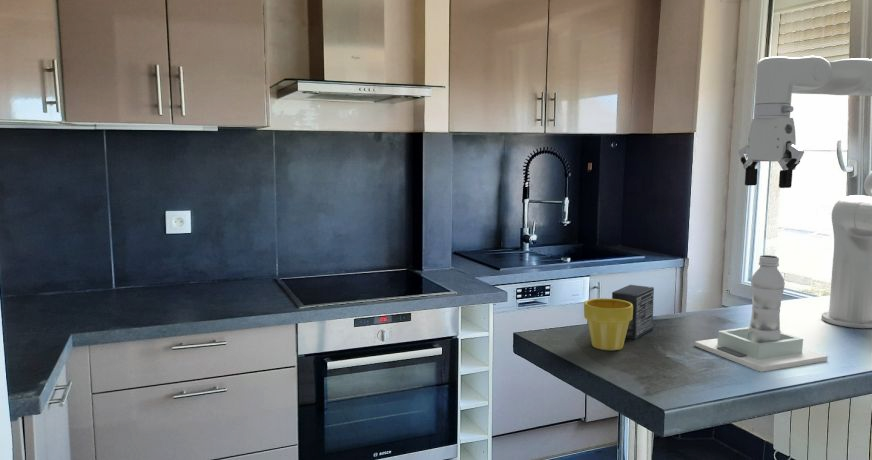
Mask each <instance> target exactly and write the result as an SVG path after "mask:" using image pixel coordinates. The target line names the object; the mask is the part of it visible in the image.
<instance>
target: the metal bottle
mask: <svg viewBox="0 0 872 460" xmlns="http://www.w3.org/2000/svg"><path fill="white" fill-rule="evenodd" d="M779 261H780V257H779V256H776V255H770V254H768V255H767V254H765V255H763V254H761V255H760V256H759V262H758V266H759V268H758V269H757V270H756V271H755V272H754V273H753V275H752V277H751V279H750V285H751V299H752V301H751V302H752V303H751V305H752V308H751V316H750V323H749V326H748V327H749V330H748V335H747V338H748V340H751V341H754V342H756V343H765V342H772V341H779V340H781V332H782V331H781V326H780V325H781V323H780V322H781V321H780V317H781V316H780V311H781V309H780V308H781V305H782V304H781V303H782V298H783V296H784V295H783V293H784V290H785V289H784V288H785V285H786V283H785V279H784V276H783V275H782V273H781V272H780V270H779V269H778V267H779V266H780V262H779Z"/></svg>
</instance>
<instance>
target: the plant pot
mask: <svg viewBox="0 0 872 460" xmlns="http://www.w3.org/2000/svg"><path fill="white" fill-rule="evenodd" d="M583 316H584V318H585V319H586V320H587V325H588V326H587V327H588V331H589V336H590V341H591V346H592V347H593V348H595V349H597V350H602V351H619V350H622V349H623V347H624V344H625V340H626V332H627V329H628V325H629V321H631V320H632V317H633V305H632V303H630V302H628V301H624V300H618V299H612V298H603V297H602V298H599V297H598V298H591V299H588V300H585V301H584V303H583Z"/></svg>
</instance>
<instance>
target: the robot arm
mask: <svg viewBox="0 0 872 460" xmlns="http://www.w3.org/2000/svg"><path fill="white" fill-rule="evenodd" d="M792 94H797V95H799V94H800V95H801V94H802V95H830V96H858V97H859V96H862V97H863V96H864V97H865V96H866V97H867V96H868V97H872V58H870V59H869V58H861V57H860V58H857V57H856V58H845V59H837V60H832V61H830V60H829V61H828V60H827V59H826V58H824V57H821V56H818V55H817V56H815V55H808V56H803V57H788V56H769V57H764V58H761V59H760V60H758V62H757V63H756V75H755V90H754V106H753V109H754V110H753V118H752V119H751V121H750V126H749V131H748V136H747V143H746V145H745V146H743V147H741V148H740V149H739V150H738V155H739V157H740V163H742V165H743V169H745V175H744V176H745V177H744V185H745V186H757V184H758V173H759V171H758V168H756V167H757V166H758V165H759V163H760V162H771V163H772V162H773V163H774V162H777V163H778V165H779V166H780V168H781V169H780V170H779V178H778V179H779V180H778V188H780V189H791V188H792V182H793V171H795V170H796V168H797V166H798V165H799V164H800V163H801V160H802V158H803V155H804V154H805V151H804V150H803V149H802V148H800V147H799V146H797V144H796V143H797V142H796V141H797V140H796V128H795V121H794V118H793V117H791V113H792V112H793V111H794V106H792V97H793V96H792ZM863 189H864V192H865V193H866V194H867V195H862V194H861V195H860V194H854V195H853V194H852V195H846V196H844V197H842V198H840V199H839V200H838V201H836V202H835V204H834V205H833V208H832V210H831V223H832V224H831V225H832V230H833V256H832V257H833V258H832V267H831V281H830V282H831V283H830V293H829V304H828V305H829V307H828V311H825V312H822V313H821V320H822V321H824V322H826V323H828V324H832V325H834V326H835V325H836V326H839V327H846V328H853V329H872V170H871V171H870V172H869V173H868V175H867V176H866V178H865V180H864V183H863Z"/></svg>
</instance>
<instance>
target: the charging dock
mask: <svg viewBox="0 0 872 460" xmlns="http://www.w3.org/2000/svg"><path fill="white" fill-rule="evenodd" d="M749 327H750V326H747V327H746V326H745V327H738V328H731V329H730V328H729V329H723V330H718V331H717V338H711V339H703V340H695V341H694V347H695V348H696V347H697V348H699V349H701V350H703V351H704V350H705V351H707V352H710V353H711V354H714V355H717V356H719V357H722V358H724V359H727V360H730V361H732V362H735V363H738V364H740V365H742V366H745V367H747V368H749V369H753V370H755V371H757V372H761V373H762V372H768V371H774V370H781V369H787V368H792V367H797V366H798V367H799V366H803V365H804V366H805V365H810V364H811V365H812V364H816V363H817V364H818V363H823V362H827V361H828V359H829V357H828V355H825V354H822V353H820V352H816V351H813V350H811V349H807V348H804V347H803V343H804V338H801V337H798V336H795V335H793V334H792V335H791V334H788V333H786V332H782V331H780V332H781V340H779V341H772V342H765V343H756V342H754V341H751V340H748V338H747V335H748V330H749Z"/></svg>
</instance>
